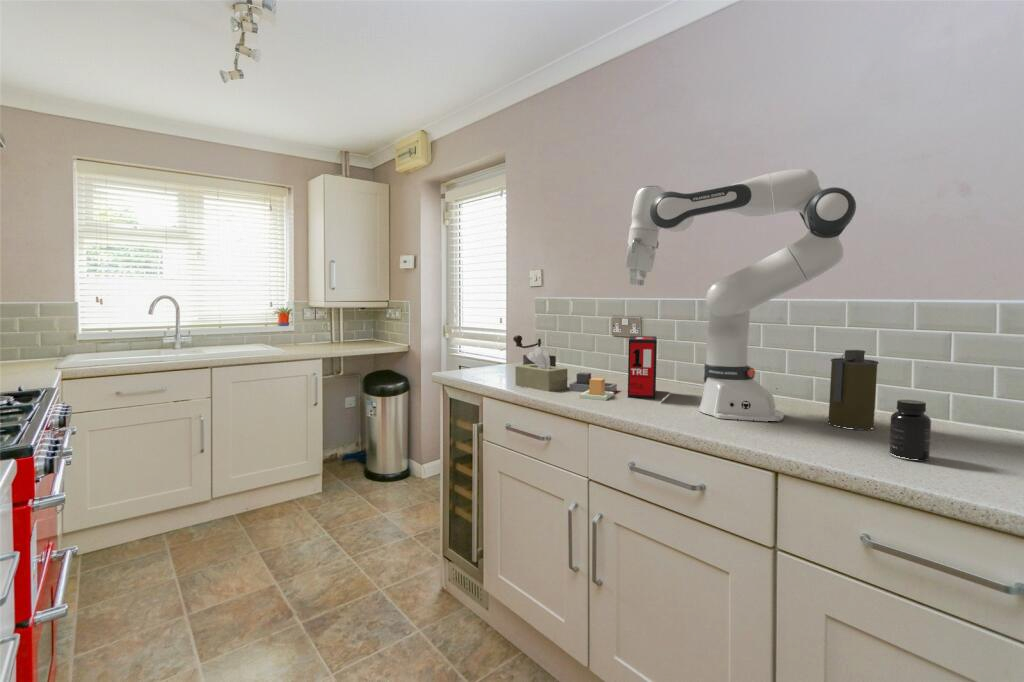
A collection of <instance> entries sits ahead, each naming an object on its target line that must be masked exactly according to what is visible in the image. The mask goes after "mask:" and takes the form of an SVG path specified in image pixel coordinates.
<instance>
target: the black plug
mask: <svg viewBox="0 0 1024 682" xmlns="http://www.w3.org/2000/svg"><path fill="white" fill-rule="evenodd" d="M590 379H592V373H591V372H582V371H581V372H577V373H576V381H577V384H584V385H589V381H590Z"/></svg>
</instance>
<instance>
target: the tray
mask: <svg viewBox="0 0 1024 682" xmlns="http://www.w3.org/2000/svg"><path fill="white" fill-rule="evenodd" d="M614 396H615V392H607V391H605V396H600V395H589V390H587V391H585V392H581V393H579V399H586V400H598V401H607V400H609V399H611V398H614Z"/></svg>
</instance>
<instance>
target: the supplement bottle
mask: <svg viewBox="0 0 1024 682" xmlns="http://www.w3.org/2000/svg"><path fill="white" fill-rule="evenodd" d="M926 405H927V403H926V402H925V401H922V400H914V399H898V400H897V401H896V410H897V411H895V412H894V413H892V414H891V416H890V428H889V429H890V430H889V445H888V446H889V454H890V453H892V454H894V455H896V456H900V457H905V458H909V459H918V460H926V459H928V460H929V459H930V456H931V455H930V454H931V433H932V419H931V418H930V417H929V416H928V415H927V414H925V413H926V412H927V408H926ZM926 461H927V460H926Z"/></svg>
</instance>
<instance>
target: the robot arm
mask: <svg viewBox="0 0 1024 682" xmlns="http://www.w3.org/2000/svg"><path fill="white" fill-rule="evenodd" d="M856 203H857V202H856V200H855V197H854V195H853V194H852V193H851V192H850V191H849V190H846V189H844V188H842V187H835V186H834V187H833V186H832V187H827V188H825V189H822V188H821V186H820V181H819V178H818V176H817V174H816V173H815V172H814V171H813V170H812V169H810V168H796V169H795V168H792V169H786V170H780V171H775V172H770V173H765V174H761V175H758V176H755V177H751V178H748V179H745V180H743V181H739V182H736V183H733V184H731V185H730V184H729V185H726V186H723V187H716V188H711V189H706V190H702V191H697V192H692V193H691V192H690V193H682V192H676V191H667V190H665V189H664V188H663V187H661V186H659V185H649V186H644V187H642V188H640V189H638V190H637V192H636V194H635V196H634V200H633V203H632V209H631V225H630V227H629V232H628V239H627V245H628V247H627V253H626V257H625V263H624V265H625V269H629V272H628V273H629V285H633V286H636V285H637V286H642V287H643V286H644V285H645V279H646V277H647V273H649V272H650V273H651V271H652V270H653V267H654V262H655V258H656V251H657V250H658V249H659V232H660V229H665V230H667V231H670V232H674V233H676V232H682V231H684V230H686V229H688V228H689V227H690V226H691V225H692V223H693V220H694V218H695V217H697V216H705V215H707V214H708V215H709V214H713V213H714V214H715V213H719V212H729V213H730V212H731V213H736V214H739V215H742V216H746V217H762V216H770V215H774V214H779V213H784V212H793V211H794V212H798V213H799V215H800V217H801V219H802V221H803V223H804V225H805V227H806V228H807V229H808V231H807V233H806V234H805V235H804V236H803V237H801V238H800V239H798V240H797V241H795V242H793V243H791V244H788V246H785V247H784V248H781V249H780V250H778V251H776V252H774V253H772V254H770V255H768V256H767V257H764V258H762V259H760V260H759V261H756V262H754V263H753V264H750V265H748V266H746V267H743V268H742V269H739V270H737V271H735V272H733V273H732V274H729V275H727V276H725V277H723V278H721V279H719V280H717V281H715V282H714V283H712V284H711V285H710V286H709V288H708V290H706V291H707V292H706V294H705V304H706V307H707V309H708V310H709V319H708V320H709V321H708V328H707V335H706V353H705V355H706V359H705V364H704V368H703V382H704V385H703V393H702V398H701V401H700V405H699V407H698V411H699V412H701V413H703V414H705V415H706V414H707V415H709V416H712V417H715V418H717V419H723V420H737V419H738V420H740V421H753V420H754V421H755V422H768V421H778V422H780V420H781V421H783V420H782V419H784V412H783V411H781V410H779V409H777V408H776V402H775V398H774V396H773V394H772V392H770V390H768V389H767V388H766V387H765V386H763V385H762V384H760V383H759V382H758V381H757V380H756V379H754V378H755V375H756V370H755V369H754V368H753V367H751V366H749V365H748V363H747V362H748V343H749V342H748V341H749V330H750V329H749V328H750V318H751V317H750V315H751V309H753V308H756V307H758V306H760V305H762V304H764V303H766V302H768V301H770V300H772V299H775V298H777V297H779V296H780V295H783V294H785V293H787V292H789V291H791V290H793V289H796V288H797V287H799V286H801V285H804V284H805V283H806V284H807V282H810V281H812V280H813V279H816V278H817V277H819V276H821V275H822V274H824V273H826V272H827V271H829V270H830V269H832V268H833V267H836V265H838V264H839V263H840V262H841V261H842V259H843V257H844V248H843V245H842V242H841V240H840V235H841V234H842V233H843V231H844V230H845V229H846V227H848V225H849V224H850V223H851V222H852V220H853V218H854V216H855V214H856V210H857V204H856ZM637 275H638V278H637Z"/></svg>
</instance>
